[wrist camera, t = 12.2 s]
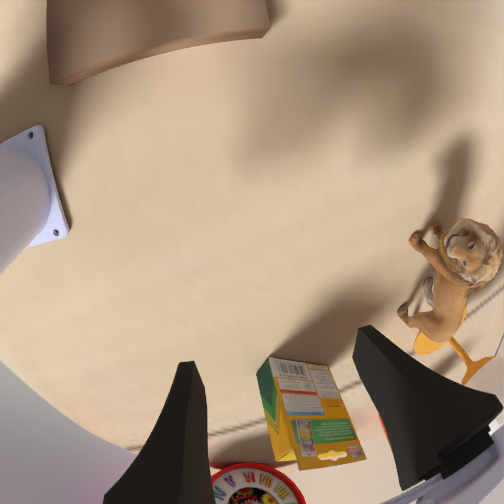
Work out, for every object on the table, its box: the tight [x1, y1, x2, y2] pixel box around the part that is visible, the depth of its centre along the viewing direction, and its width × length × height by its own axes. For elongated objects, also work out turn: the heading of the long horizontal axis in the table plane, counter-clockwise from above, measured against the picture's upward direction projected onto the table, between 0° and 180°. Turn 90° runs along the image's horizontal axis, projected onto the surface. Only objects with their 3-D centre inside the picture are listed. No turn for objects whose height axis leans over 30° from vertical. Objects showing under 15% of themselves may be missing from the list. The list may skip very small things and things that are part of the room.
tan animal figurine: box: [397, 218, 503, 343], centre depth 19 cm, size 15×5×9 cm, turn 17°
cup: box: [414, 304, 504, 436], centre depth 22 cm, size 9×9×16 cm
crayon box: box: [256, 357, 367, 471], centre depth 22 cm, size 7×3×12 cm, turn 65°
